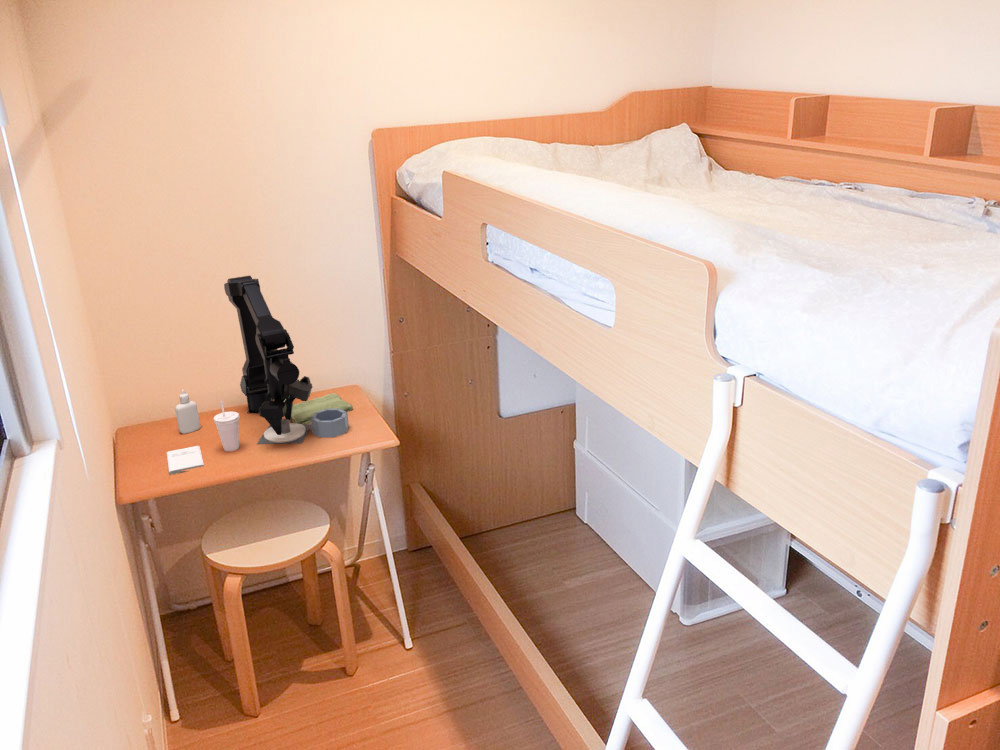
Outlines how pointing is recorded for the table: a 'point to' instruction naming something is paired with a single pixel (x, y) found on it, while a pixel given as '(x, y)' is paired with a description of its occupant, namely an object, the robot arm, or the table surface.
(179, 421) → the eye dropper bottle
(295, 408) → the washcloth
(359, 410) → the table surface
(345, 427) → the bowl
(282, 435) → the lid
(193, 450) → the external hard drive
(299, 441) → the mat
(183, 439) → the table surface
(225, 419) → the smoothie
